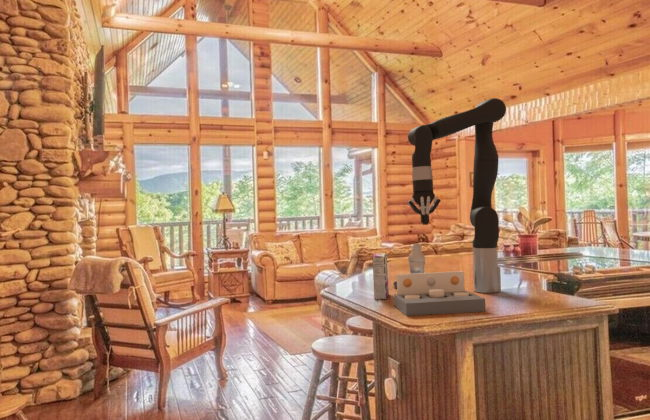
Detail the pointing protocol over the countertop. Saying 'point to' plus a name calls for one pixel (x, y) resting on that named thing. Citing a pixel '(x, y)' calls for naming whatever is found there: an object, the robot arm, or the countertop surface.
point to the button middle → (436, 293)
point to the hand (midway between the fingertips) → (425, 224)
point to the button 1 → (412, 297)
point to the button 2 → (460, 294)
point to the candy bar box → (380, 276)
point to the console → (427, 305)
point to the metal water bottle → (416, 259)
